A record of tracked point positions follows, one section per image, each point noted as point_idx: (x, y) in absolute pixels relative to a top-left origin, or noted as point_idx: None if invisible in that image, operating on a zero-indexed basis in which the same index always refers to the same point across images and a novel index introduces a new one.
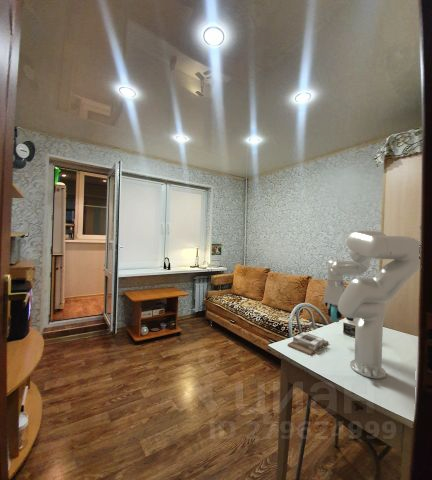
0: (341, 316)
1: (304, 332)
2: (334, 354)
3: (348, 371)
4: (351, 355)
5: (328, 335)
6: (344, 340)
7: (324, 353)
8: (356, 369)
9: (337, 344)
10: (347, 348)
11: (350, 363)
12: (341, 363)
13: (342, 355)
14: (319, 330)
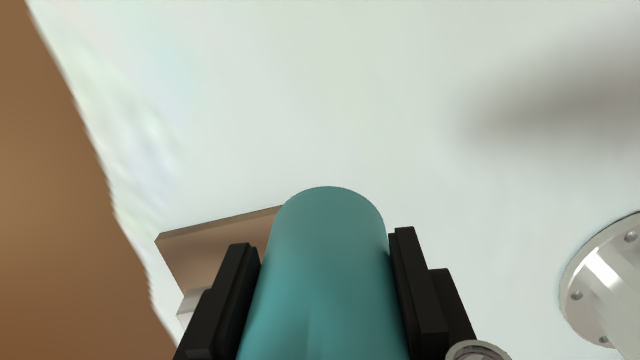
0: (447, 280)
1: (187, 318)
2: None
3: (573, 355)
4: (517, 206)
5: (202, 51)
6: (345, 3)
7: None
8: (615, 348)
9: (367, 145)
10: (449, 135)
11: (571, 326)
12: (519, 327)
13: (480, 255)
14: (70, 25)
